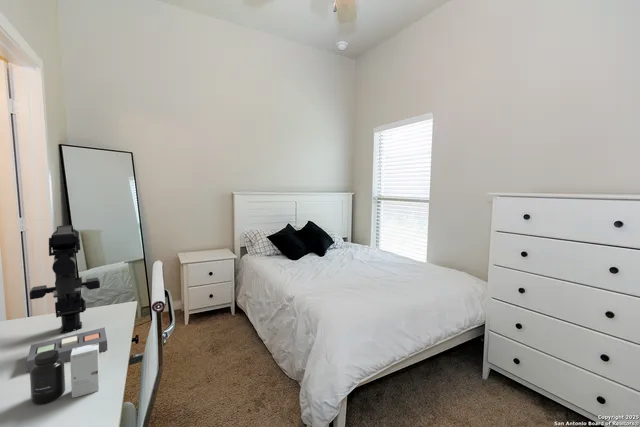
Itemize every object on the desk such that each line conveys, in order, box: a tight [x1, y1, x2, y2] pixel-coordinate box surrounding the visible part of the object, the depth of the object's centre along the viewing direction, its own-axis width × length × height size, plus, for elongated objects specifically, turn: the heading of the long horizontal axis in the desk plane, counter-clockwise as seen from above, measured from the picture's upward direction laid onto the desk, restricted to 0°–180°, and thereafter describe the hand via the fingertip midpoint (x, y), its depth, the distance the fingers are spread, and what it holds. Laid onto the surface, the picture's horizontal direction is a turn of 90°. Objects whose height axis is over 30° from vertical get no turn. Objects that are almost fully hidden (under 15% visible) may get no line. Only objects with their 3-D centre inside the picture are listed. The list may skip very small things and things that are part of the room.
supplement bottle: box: [29, 350, 66, 406], centre depth 80 cm, size 7×7×12 cm
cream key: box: [62, 336, 78, 347], centre depth 101 cm, size 4×4×2 cm
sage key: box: [37, 344, 55, 354], centre depth 97 cm, size 4×4×2 cm
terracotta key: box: [85, 333, 99, 342], centre depth 105 cm, size 4×4×2 cm
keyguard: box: [25, 327, 109, 373], centre depth 101 cm, size 12×20×4 cm, turn 129°
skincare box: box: [70, 343, 101, 399], centre depth 82 cm, size 6×4×12 cm
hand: (68, 310), depth 106 cm, fingers closed
